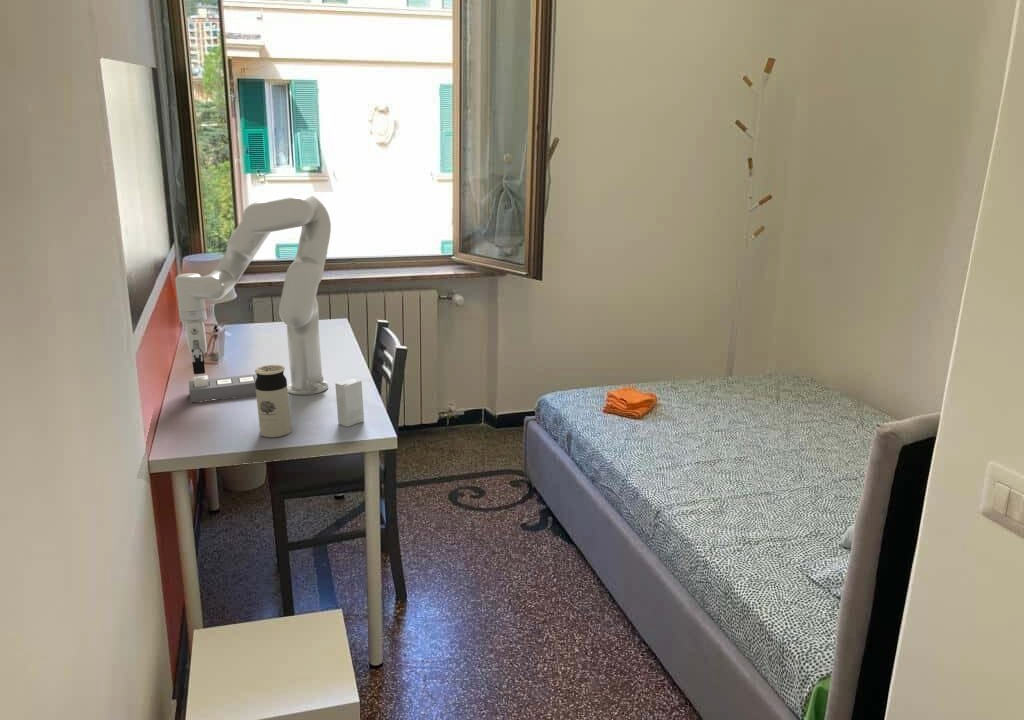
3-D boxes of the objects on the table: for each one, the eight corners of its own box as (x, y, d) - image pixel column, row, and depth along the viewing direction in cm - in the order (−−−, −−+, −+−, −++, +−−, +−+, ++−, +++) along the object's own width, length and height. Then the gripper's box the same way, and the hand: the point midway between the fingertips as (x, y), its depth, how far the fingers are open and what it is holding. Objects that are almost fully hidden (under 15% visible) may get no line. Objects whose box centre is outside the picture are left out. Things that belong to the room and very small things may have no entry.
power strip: (262, 385, 247) (261, 373, 246) (265, 394, 239) (263, 381, 238) (190, 393, 239) (189, 381, 238) (190, 403, 231) (189, 390, 230)
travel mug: (273, 425, 214) (267, 363, 209) (297, 429, 211) (291, 366, 206) (254, 435, 207) (247, 371, 202) (278, 440, 204) (272, 374, 199)
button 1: (208, 383, 238) (207, 375, 237) (208, 386, 234) (208, 378, 233) (194, 384, 236) (193, 376, 236) (194, 388, 233) (193, 380, 232)
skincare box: (355, 417, 219) (352, 377, 216) (365, 421, 217) (362, 380, 213) (337, 424, 215) (334, 382, 211) (347, 427, 212) (344, 385, 209)
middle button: (231, 386, 241) (230, 378, 240) (232, 390, 237) (231, 382, 236) (218, 388, 239) (217, 380, 239) (218, 392, 236) (217, 384, 235)
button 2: (253, 384, 243) (252, 376, 242) (254, 388, 239) (253, 380, 239) (240, 385, 242) (239, 377, 241) (241, 389, 238) (240, 381, 237)
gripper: (207, 320, 227) (213, 375, 232) (205, 307, 243) (211, 360, 248) (179, 322, 225) (186, 378, 229) (179, 309, 240) (186, 362, 245)
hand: (199, 369), depth 238 cm, fingers open, 9 cm apart
